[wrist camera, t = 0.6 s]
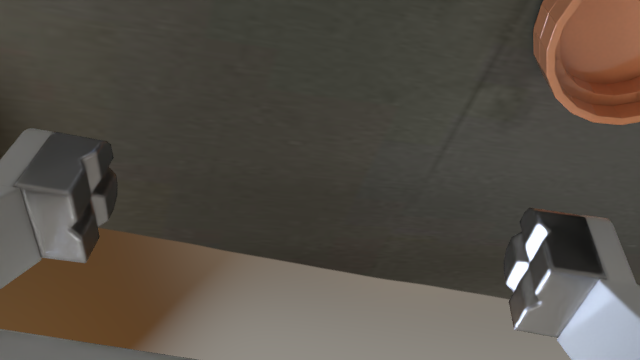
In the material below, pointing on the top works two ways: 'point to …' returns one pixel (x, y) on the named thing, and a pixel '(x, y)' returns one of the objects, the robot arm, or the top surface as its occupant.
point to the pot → (591, 57)
